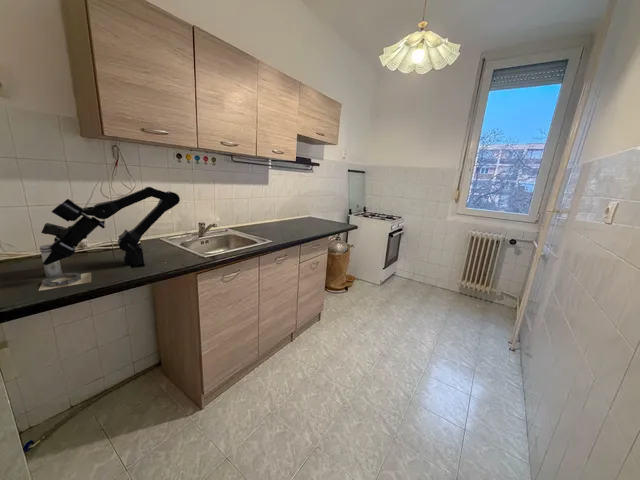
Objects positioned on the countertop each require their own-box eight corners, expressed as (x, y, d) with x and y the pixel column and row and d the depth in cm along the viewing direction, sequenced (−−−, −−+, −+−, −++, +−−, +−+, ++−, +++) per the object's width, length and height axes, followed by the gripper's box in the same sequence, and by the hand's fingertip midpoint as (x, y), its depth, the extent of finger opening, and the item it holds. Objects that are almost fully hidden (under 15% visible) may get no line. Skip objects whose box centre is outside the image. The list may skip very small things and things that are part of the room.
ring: (81, 274, 97) (81, 271, 97) (80, 282, 90) (80, 279, 90) (46, 279, 91) (45, 276, 91) (42, 288, 84) (41, 285, 84)
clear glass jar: (63, 274, 98) (56, 243, 95) (62, 277, 95) (55, 246, 92) (47, 276, 96) (40, 245, 93) (45, 280, 93) (38, 248, 90)
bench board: (91, 274, 99) (91, 272, 99) (91, 284, 91) (91, 281, 91) (43, 282, 91) (43, 279, 91) (38, 293, 83) (38, 290, 83)
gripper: (60, 212, 99) (24, 242, 95) (54, 219, 86) (12, 255, 81) (90, 229, 106) (57, 258, 102) (89, 239, 93) (52, 273, 88)
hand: (45, 261), depth 93 cm, fingers open, 9 cm apart
